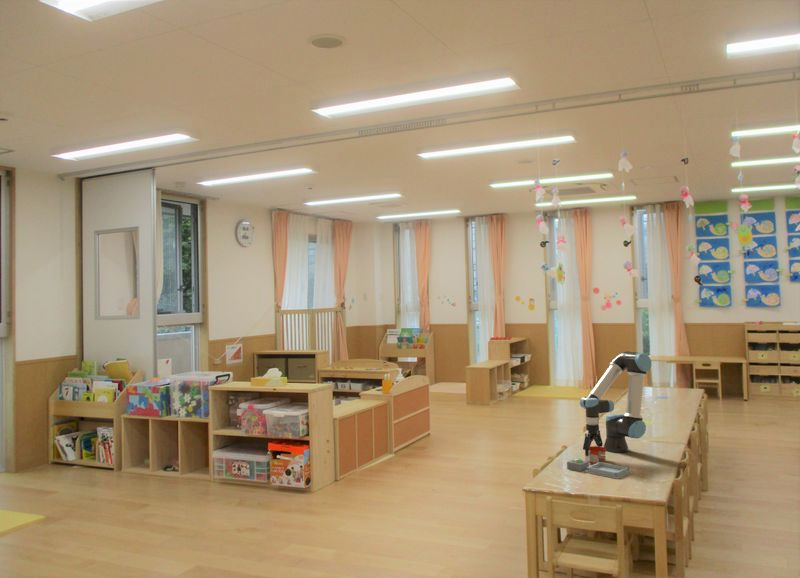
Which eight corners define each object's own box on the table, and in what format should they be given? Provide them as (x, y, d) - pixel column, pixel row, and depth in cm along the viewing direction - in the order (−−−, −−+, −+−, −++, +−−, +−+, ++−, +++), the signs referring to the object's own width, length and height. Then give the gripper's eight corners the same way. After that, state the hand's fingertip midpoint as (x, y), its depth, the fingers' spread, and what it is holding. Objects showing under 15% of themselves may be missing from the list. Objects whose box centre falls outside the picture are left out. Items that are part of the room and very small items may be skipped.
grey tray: (598, 466, 372) (598, 461, 372) (631, 473, 357) (631, 467, 357) (585, 472, 360) (584, 467, 360) (618, 479, 346) (617, 473, 346)
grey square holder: (575, 465, 375) (575, 459, 375) (589, 468, 368) (588, 461, 368) (567, 468, 369) (567, 461, 369) (581, 471, 362) (580, 464, 362)
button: (576, 465, 371) (576, 458, 372) (583, 466, 368) (582, 459, 369) (572, 467, 369) (572, 459, 369) (579, 468, 366) (579, 460, 366)
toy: (590, 458, 392) (590, 445, 393) (606, 460, 386) (606, 447, 386) (582, 462, 383) (581, 449, 383) (598, 464, 376) (598, 451, 376)
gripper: (596, 420, 397) (597, 454, 396) (576, 426, 379) (577, 461, 379) (607, 421, 391) (608, 456, 391) (587, 427, 374) (588, 463, 374)
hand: (593, 458), depth 385 cm, fingers open, 12 cm apart
